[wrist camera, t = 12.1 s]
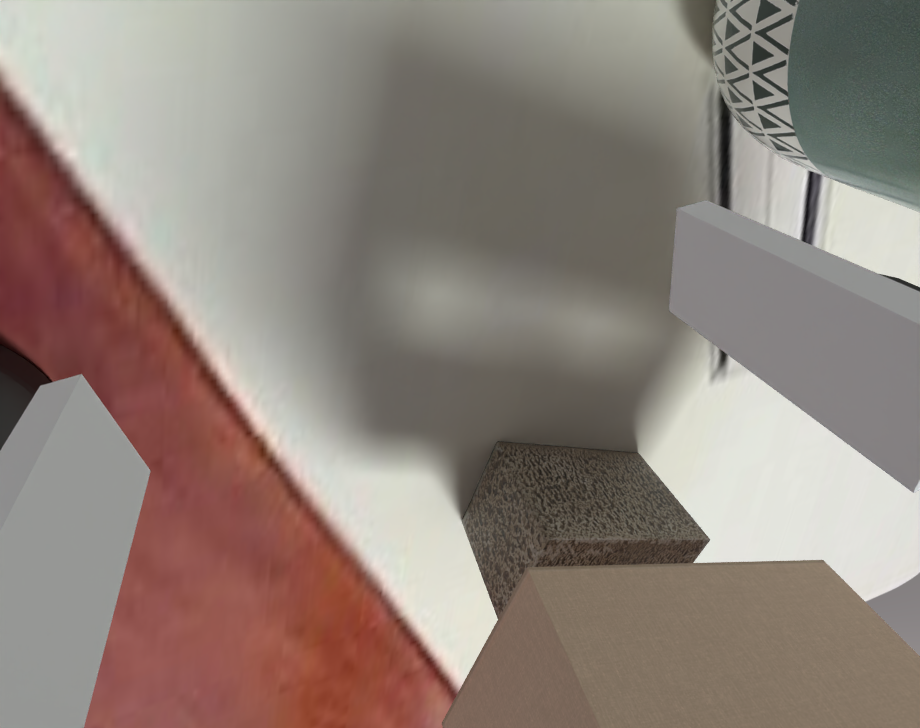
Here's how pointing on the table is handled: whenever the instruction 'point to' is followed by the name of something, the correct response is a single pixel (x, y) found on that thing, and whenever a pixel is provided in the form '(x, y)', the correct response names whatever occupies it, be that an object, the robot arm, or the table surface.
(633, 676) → the lamp
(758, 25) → the planter
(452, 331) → the table surface
